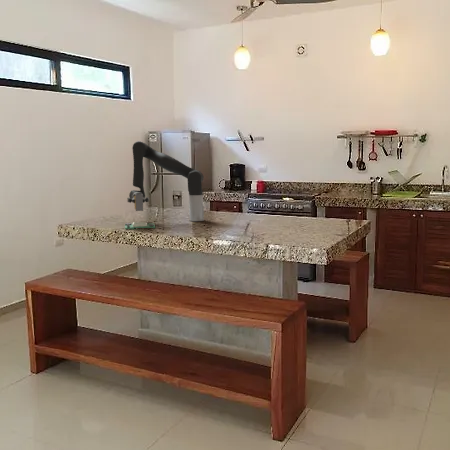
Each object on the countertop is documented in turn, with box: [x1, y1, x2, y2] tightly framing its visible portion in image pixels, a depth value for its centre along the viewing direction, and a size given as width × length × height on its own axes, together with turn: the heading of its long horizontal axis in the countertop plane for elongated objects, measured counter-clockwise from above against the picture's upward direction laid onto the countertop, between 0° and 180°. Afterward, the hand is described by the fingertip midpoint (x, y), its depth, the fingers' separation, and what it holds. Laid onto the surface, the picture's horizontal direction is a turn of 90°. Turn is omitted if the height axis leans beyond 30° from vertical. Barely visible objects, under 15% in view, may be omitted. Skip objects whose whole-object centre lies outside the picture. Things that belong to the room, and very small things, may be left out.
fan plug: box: [134, 193, 144, 212], centre depth 312 cm, size 5×4×11 cm
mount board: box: [124, 221, 156, 230], centre depth 314 cm, size 18×14×3 cm
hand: (138, 201), depth 309 cm, fingers closed on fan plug, 5 cm apart
